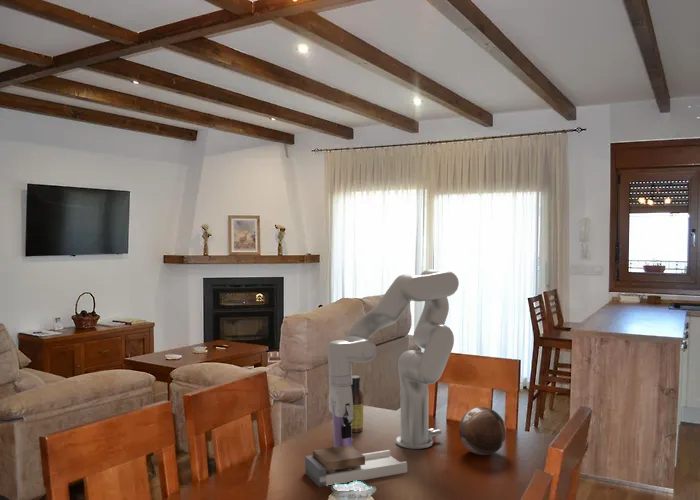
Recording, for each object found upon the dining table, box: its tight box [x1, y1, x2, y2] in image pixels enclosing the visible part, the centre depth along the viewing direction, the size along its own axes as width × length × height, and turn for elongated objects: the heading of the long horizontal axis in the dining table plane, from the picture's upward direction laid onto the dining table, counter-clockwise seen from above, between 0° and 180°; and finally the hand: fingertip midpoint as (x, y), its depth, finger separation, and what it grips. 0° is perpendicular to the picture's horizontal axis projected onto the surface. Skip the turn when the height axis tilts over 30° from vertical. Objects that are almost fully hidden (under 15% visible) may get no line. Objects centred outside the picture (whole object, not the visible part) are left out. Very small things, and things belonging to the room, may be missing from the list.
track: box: [304, 449, 408, 488], centre depth 187 cm, size 28×12×5 cm, turn 114°
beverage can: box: [332, 404, 353, 447], centre depth 202 cm, size 6×6×15 cm
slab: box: [312, 445, 365, 474], centre depth 185 cm, size 12×11×5 cm
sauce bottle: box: [351, 375, 364, 433], centre depth 228 cm, size 7×6×20 cm
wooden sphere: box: [458, 406, 507, 456], centre depth 203 cm, size 15×15×15 cm
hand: (342, 434), depth 202 cm, fingers closed on beverage can, 5 cm apart
